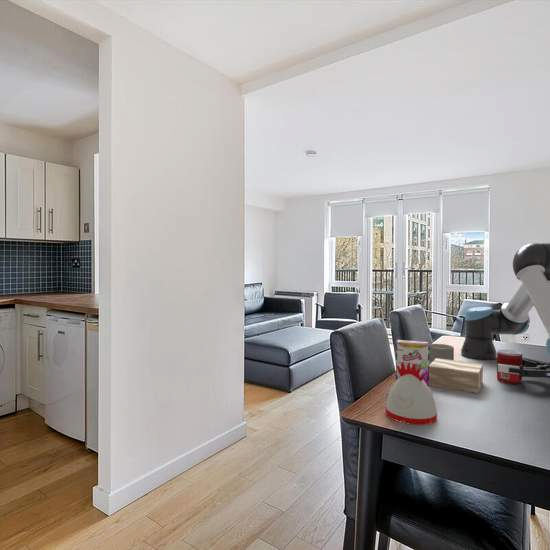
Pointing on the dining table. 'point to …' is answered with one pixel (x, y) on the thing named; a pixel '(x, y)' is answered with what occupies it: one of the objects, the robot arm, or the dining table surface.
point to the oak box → (456, 375)
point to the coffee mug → (441, 352)
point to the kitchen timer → (411, 398)
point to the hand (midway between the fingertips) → (499, 363)
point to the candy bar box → (413, 357)
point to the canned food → (509, 359)
